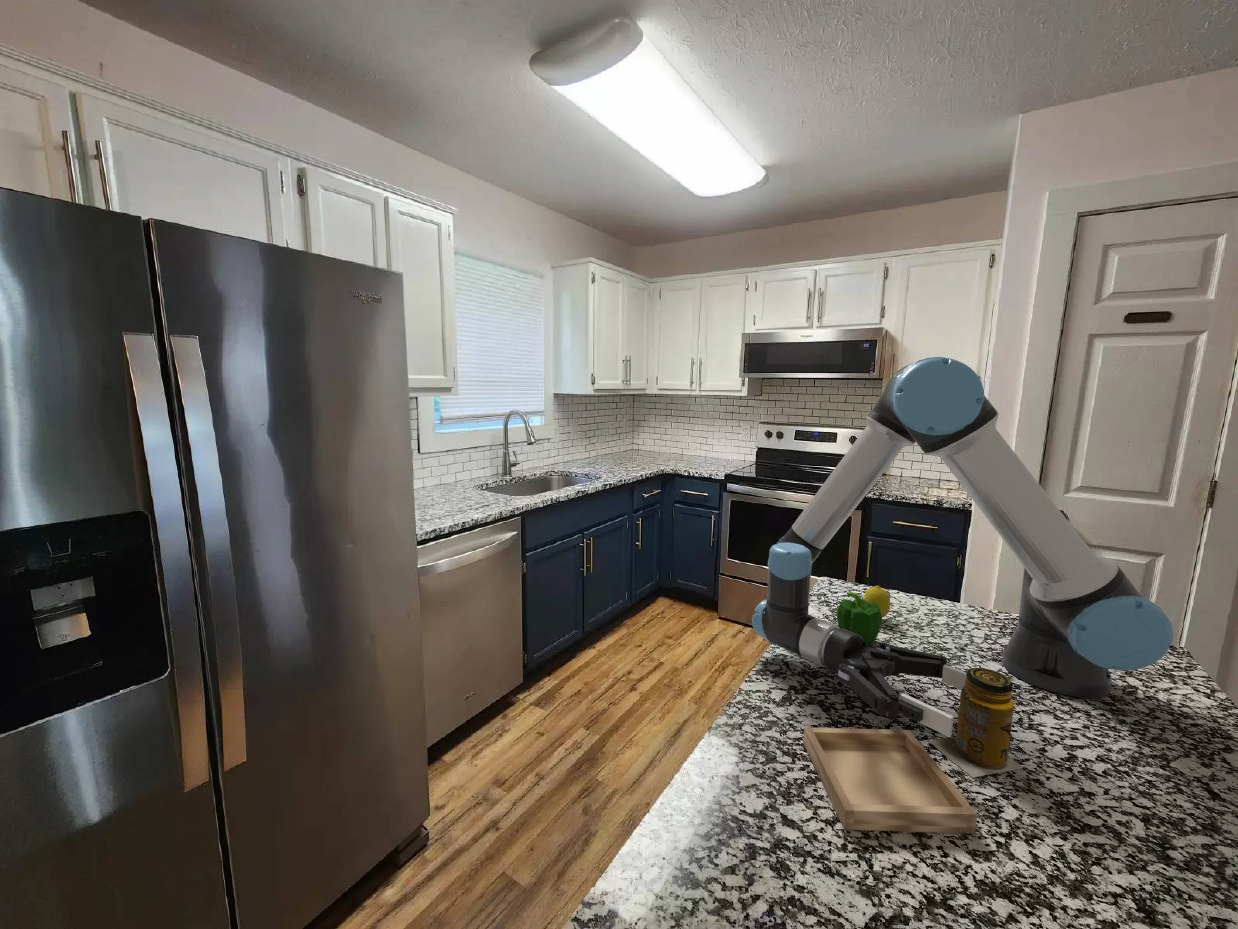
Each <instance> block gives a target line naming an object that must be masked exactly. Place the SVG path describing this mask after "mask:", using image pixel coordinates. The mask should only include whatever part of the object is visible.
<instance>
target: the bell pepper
mask: <svg viewBox="0 0 1238 929" xmlns="http://www.w3.org/2000/svg"><path fill="white" fill-rule="evenodd" d="M846 595H847V597H848V598H849V597H853V598H855V599H854V600H850V599H848V598H847V599H846V598H842V600H841V601H840V603H839V605H838V607H837V608H836V619H837V620H836V621H837V623H838V624H837V626H838V627H839V628H843V629H846V630H848V631H851V632H853V633H856V634H858V635H860V636H861V637H862V638H863V639H864V642H865V644H866V645H867V646H868V647H869V646H871V645H872V644H873V643H874V642H875V641H876V640H877V638H878V635H879V633H880V630H881V628H882V623H883V622H882V621H883V618H882V616H881V612H880V609H879V606H878V604H875V603H869V602H867V601H866V600H864V599H863V598H862V597H861V596H860V595H859V594H858V593H856V592H852V591H848V592H846Z"/></svg>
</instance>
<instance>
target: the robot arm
mask: <svg viewBox="0 0 1238 929" xmlns="http://www.w3.org/2000/svg"><path fill="white" fill-rule="evenodd" d="M999 416H1000V414H999V412H998V410H997V409H996V408H995V407H994V405H993V404H992V403H991V402H990V400H989V399H988V398H987V396H986V395H985V390H984V385H983V383H982V381H981V379H980V377H979V376H978V374H977V373H976V372H975V371H974V369H972V368H971V367H970V366H968V365H967V364H965V363H964V362H961V361H960V360H959V361H958V360H956V359H954V358H950V357H943V356H934V357H927V358H922V359H919V360H916V361H914V362H913V363H910V364H907V365H905V366H904V367H902V368H900V369H899V370H898V371H896V372H895V373H894V374H893V375H892V376H891V377H890V379H889V380H888V382H887V384H886V385H885V388H884V389H883V390H882V392H881V395H880V396H879V398H878V400H877V402H876V403H875V404H874V406H873V408H872V409H871V410H870V412H869V413H868V414H867V415H866V417H865V418H866V423H867V424H866V427H864V429H863V430H862V432H861V433H860V434H859V436H858V437H857V439H855V441H854V443H853V444H852V445H851V446H850V448H849V449H848V450H847V452H846V453H845V455H844V456H842V458H841V460H840V461H839V462H838V463H837V465H836V467H835V468H834V469H833V470H832V472H831V473H830V475H829V476H828V477H827V479H826V480H825V482H823V484H822V485H821V486H820V488H819V489H818V491H816V494H815V495H814V496H813V498H812V499H811V500H810V501H809V502H808V504H807V505H806V506H805V508H804V509H803V511H801V513H800V514H799V516H798V517H797V519H796V520H795V522H794V523H793V524H792V525H791V527H790V528H789V530H787V532H786V533H785V535H784V536H782V537H780V539H779V540H778V542H776V544H773V545H771V547H770V548H769V552H768V553H769V554H768V555H769V556H768V559H767V567H768V568H767V597H766V599H763V600H762V601H761V602H759V603H758V605H757V606H756V607H755V609H754V614H753V615H752V618H751V623H752V628H753V630H754V632H755V634H756V635H758V637H760V638H762V639H765V640H766V641H767V642H769V643H770V644H772V645H774V646H778V647H779V648H782V649H784V650H786V651H788V652H790V653H793V654H794V655H797V656H799V657H801V658H803V659H805V660H808V661H810V662H812V663H814V665H816V666H820V667H822V668H826V669H827V670H828V671H829V672H832V673H834V674H836V675H838V676H837V680H838V682H840V683H842V684H844V685H846V686H848V687H849V688H850V689H851V690H853V692H854V693H856V694H857V695H858V696H859V697H860V698H861V699H862V700H863V701H864V702H865V703H866V704H867V705H869V707H870V708H871V709H872V710H874V711H875V712H876V713H877V714H878V715H880V716H886V715H887V716H888V717H889V718H892V719H896V718H898V717H897V716H898V714H900V715H902V716H905V717H907V718H908V719H911V720H913V721H915V722H917V723H919V724H922V725H923V726H925V727H928V728H929V729H931V730H934V731H935V732H938V733H940V734H942V735H944V736H946V737H947V738H948V737H952V734H953V726H954V716H953V715H951V714H950V713H947V712H945V711H943V710H941V709H938V708H936V707H935V706H932V705H929V704H927V703H926V702H923V701H921V700H918V699H916V698H914V697H912V696H910V695H907V694H906V693H902V694H900V695H899V694H897V692H896V691H895V689H894V688H893V687H892V686H891V684H890V683H889V682H888V681H887V679H886V678H887V677H890V676H894V677H896V676H899V675H900V674H901V675H902V674H903V675H911V676H921V677H928V678H936V679H941V683H943V684H946V685H948V686H951V687H954V688H956V689H958V690H960V691H961V689H962V687H963V686H964V685H965V680H966V678H967V677H966V673H967V671H963V670H961V669H958V668H956V667H953V666H950V665H949V664H948V657H946V656H944V655H940V654H937V653H936V654H935V653H930V652H925V651H920V650H916V649H911V648H905V647H900V646H897V645H892V644H890V643H887V642H883V641H881V642H879V647H878V648H874V647H870V646H869V645H868V646H867V645H866V644H865V642H864V639H863V638H862V637H861V636H860V635H858V634H856V633H853V632H851V631H848V630H846V629H843V628H839V626H838V625H836V624H834V623H831V622H828V621H826V620H822V619H820V618H817V617H815V616H813V615H811V614H809V608H810V606H809V605H810V592H811V590H810V589H811V578H812V577H811V575H812V570H813V563H814V562H815V561H816V559H817V558H818V557H819V555H820V554H821V553H822V551H823V550H824V549H825V547H826V546H827V545H828V543H829V542H830V541H831V540H832V539H833V537H834V536H835V534H837V533H838V531H839V529H840V528H841V527H842V526H843V524H844V523H845V522H846V521H847V519H848V518H849V517H850V516H851V515H852V513H853V512H854V510H856V509H857V507H858V505H859V504H860V503H861V502H862V500H863V499H865V496H866V495H867V494H868V493H869V492H870V490H872V488H873V487H874V486H875V484H876V483H877V482H878V480H880V478H881V477H882V475H883V474H884V473H885V471H886V470H887V469H888V468H889V467H890V465H891V464H892V463H893V462H894V460H895V459H896V458H897V456H898V455H899V454H900V453H901V451H902V450H903V449H904V448H905V447H908V446H909V447H911V446H913V445H914V444H915V443H916V444H917V445H918V447H919V448H920V449H921V451H922V452H923V453H924V454H925V455H926V456H927V455H928V456H931V457H937V458H940V459H941V460H942V462H944V464H945V466H946V467H947V468H948V469H949V470H950V472H951V473H952V475H953V476H954V477H955V478H956V480H957V481H958V482H959V484H960V485H961V486H962V488H963V489H964V491H965V492H966V493H967V494H968V496H969V497H970V498H971V500H972V501H973V502H974V503H975V505H976V506H977V507H978V509H979V510H980V511H981V512H982V514H983V516H985V518H986V519H987V520H988V522H989V523H990V525H992V527H993V529H994V530H995V531H996V532H997V534H998V535H999V536H1000V538H1001V539H1002V541H1004V543H1005V544H1006V545H1007V547H1008V548H1009V549H1010V550H1011V552H1012V553H1013V555H1014V556H1015V558H1017V560H1018V562H1019V563H1020V564H1021V565H1022V567H1023V568H1024V569H1023V574H1022V575H1023V577H1022V586H1021V594H1020V604H1019V613H1018V614H1019V615H1018V621H1017V625H1016V628H1014V632H1013V633H1012V635H1011V637H1010V638H1009V640H1008V642H1007V644H1006V645H1005V646H1004V648H1003V650H1002V658H1001V664H1002V665H1003V667H1004V668H1005V669H1006V670H1007V671H1008V672H1009V673H1011V674H1012V676H1013V675H1014V676H1015V677H1017V678H1018V679H1020V680H1022V681H1024V682H1026V683H1028V684H1030V685H1032V686H1035V687H1038V688H1040V689H1043V690H1046V691H1049V692H1052V693H1056V694H1060V695H1064V696H1069V697H1075V698H1083V699H1100V698H1104V697H1107V696H1108V695H1109V694H1110V693H1111V688H1112V683H1113V682H1112V681H1113V677H1112V674H1111V672H1110V670H1114V671H1126V672H1127V671H1135V670H1140V669H1143V668H1146V667H1149V666H1152V665H1153V664H1155V663H1157V662H1159V661H1160V660H1161V659H1163V658H1164V657H1165V655H1166V654H1167V653H1168V652H1169V648H1170V647H1171V645H1172V644H1173V642H1174V637H1175V636H1174V634H1175V633H1174V626H1173V624H1172V622H1171V620H1170V619H1169V617H1168V616H1167V614H1166V613H1165V612H1164V611H1163V610H1162V608H1161V607H1160V606H1158V605H1156V603H1154V602H1153V601H1151V600H1149V599H1146V598H1145V597H1144V596H1143V594H1141V592H1140V591H1139V590H1138V589H1137V587H1136V586H1134V584H1133V583H1132V581H1131V580H1130V579H1129V577H1127V575H1126V573H1125V572H1124V571H1123V569H1121V567H1120V566H1119V565H1118V564H1117V563H1116V562H1115V561H1114V559H1112V558H1111V557H1110V558H1109V557H1106V556H1101V555H1098V554H1094V553H1093V551H1092V550H1091V548H1090V547H1089V546H1088V544H1086V542H1085V541H1084V539H1083V538H1082V537H1081V536H1080V535H1079V533H1078V532H1077V531H1076V529H1075V528H1074V527H1073V526H1072V524H1071V523H1070V522H1069V520H1068V519H1067V517H1065V515H1064V514H1063V512H1062V511H1061V510H1060V508H1058V507H1057V505H1056V504H1055V503H1054V501H1053V500H1052V499H1051V497H1050V496H1049V495H1048V493H1047V492H1046V491H1045V489H1044V488H1043V487H1042V485H1041V484H1040V483H1039V482H1038V481H1037V479H1036V478H1035V477H1034V476H1033V474H1032V473H1031V472H1030V470H1029V469H1028V468H1027V467H1026V465H1025V464H1024V462H1022V460H1021V459H1020V458H1019V456H1018V455H1017V454H1016V452H1015V451H1014V450H1013V449H1012V447H1011V446H1010V444H1008V442H1007V441H1006V440H1005V438H1004V437H1003V436H1002V434H1001V433H1000V432H999V430H998V429H997V422H998V418H999ZM899 696H900V697H899Z"/></svg>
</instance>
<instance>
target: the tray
mask: <svg viewBox="0 0 1238 929" xmlns="http://www.w3.org/2000/svg"><path fill="white" fill-rule="evenodd" d="M802 741H803V743H802V744H803V745H804V748H805V749H806V752H807V754H808V757H809V759H810V760H811V762H812V765H813V766H814V768H815V771H816V773H817V775H818V777H819V779H820V781H821V783H822V785H823V788H824V790H825V792H826V795H827V796H828V798H829V800H830V803H831V804H832V806H833V810H834V811H835V813H836V815H837V817H838V819H839V821H840V823H841V826H842V828H843V830H847V831H848V830H849V831H850V830H851V831H852V830H853V831H876V832H877V831H878V832H879V831H883V832H908V833H909V832H911V833H912V832H914V833H941V834H943V833H944V834H973V835H975V834H976V829H977V821H978V813H977V812H976V811H975V810H974V808H973V807H972V806H971V805H970V803H969V802H968V801H967V800H966V798H965V797H964V796H963V795H962V794H961V792H960V791H959V790H958V789H957V787H956V786H955V785H954V784H953V782H952V781H951V780H950V779H949V777H948V776H947V775H946V774H945V772H944V771H943V770H942V769H941V768H940V766H939V765H938V764H937V762H936V761H935V760H934V758H932V756H931V755H930V754H929V753H928V750H926V749H925V748H924V747H923V745H922V744H921V743H920V742H919V740H918V739H917V738H916V736H915V735H914V734H913V733H912V732H911V731H910V729H885V728H884V729H883V728H882V729H879V728H846V727H845V728H841V727H840V728H839V727H838V728H837V727H835V728H833V727H805V726H804V728H803V740H802Z"/></svg>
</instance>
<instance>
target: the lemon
mask: <svg viewBox="0 0 1238 929" xmlns="http://www.w3.org/2000/svg"><path fill="white" fill-rule="evenodd" d="M862 599H864V600H866V601H867V602H869V603H875V604H878V606H879V609H880V612H881V616H882V619H883V618H885V617H886V616H887V615H888V614H889V612H890V609H891V598H890V595H889V593H888V592H887V591H886V589H884V588H882V587H881V586H879V585H876V586H872V587H870V588H868V589H866V591H865V592H864V595H863V598H862Z"/></svg>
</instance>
